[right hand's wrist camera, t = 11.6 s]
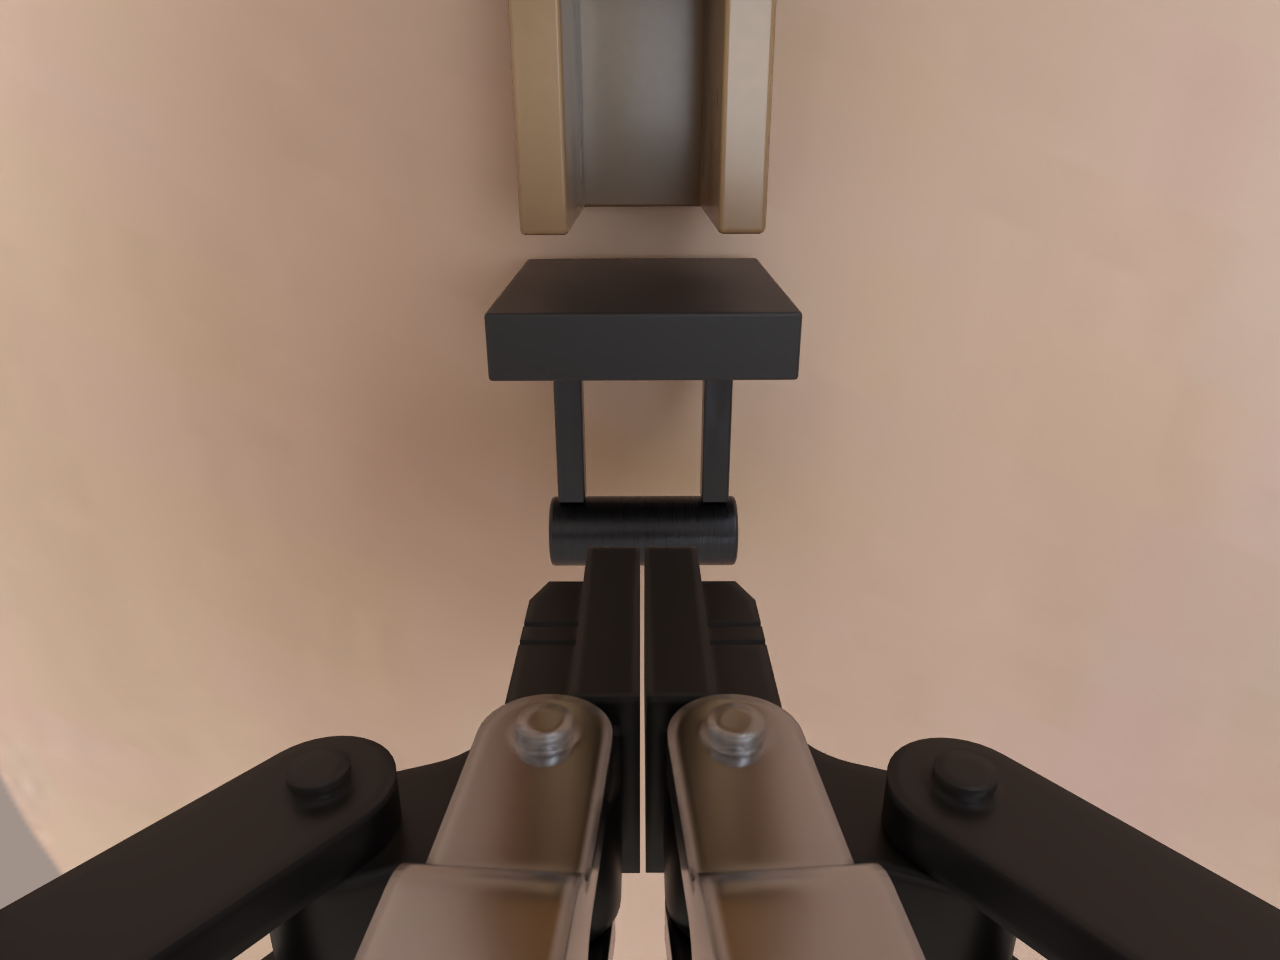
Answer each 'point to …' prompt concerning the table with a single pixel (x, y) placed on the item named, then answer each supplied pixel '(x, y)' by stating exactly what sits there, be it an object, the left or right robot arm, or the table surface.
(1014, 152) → the table surface
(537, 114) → the drawer
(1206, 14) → the table surface
